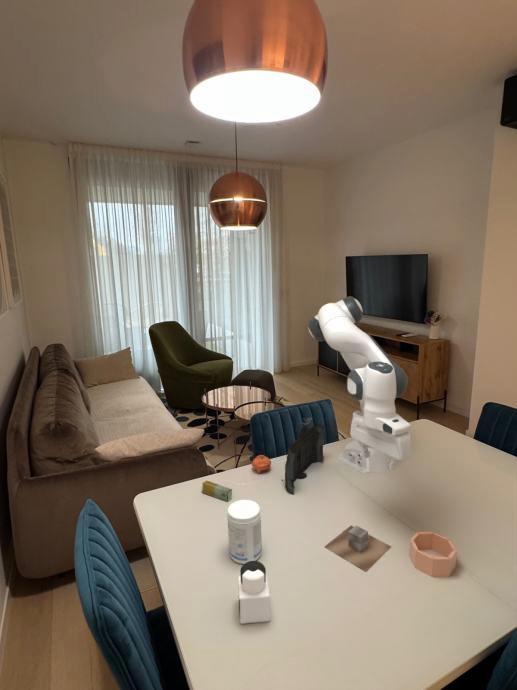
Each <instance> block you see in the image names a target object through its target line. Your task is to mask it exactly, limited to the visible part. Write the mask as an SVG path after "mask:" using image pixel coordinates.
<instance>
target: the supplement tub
mask: <svg viewBox="0 0 517 690" xmlns="http://www.w3.org/2000/svg"><path fill="white" fill-rule="evenodd" d="M226 515H227V533H228V536H227V537H228V552H229V556H230V558H231V560H233V561H234V562H236V563H237V564H243V565H244V564H245V563H247V562H249V561H257V560H258V559H259V558H260V557H261V555H262V551H263V550H262V549H263V543H262V519H261V518H262V515H261V508H260V505H259V504H258V503H257V502H256V501H254V500H250V499H239V500H237V501H233V502H232V503H230V505H229V506H228V507H227V514H226Z"/></svg>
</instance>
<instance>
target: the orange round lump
mask: <svg viewBox="0 0 517 690" xmlns="http://www.w3.org/2000/svg"><path fill="white" fill-rule="evenodd" d="M271 465H272V461H271V459H270V458H269V457H267V456H265V455H263V454H259V455H257V456H256V457H255V458H254V459H253V460H252V462H251V466H252V467H253V468H254V469H255V470H256V471H257V473H258V474H261V471H265V470H267V469H268V471H270V470H271Z"/></svg>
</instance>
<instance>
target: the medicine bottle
mask: <svg viewBox="0 0 517 690" xmlns="http://www.w3.org/2000/svg"><path fill="white" fill-rule="evenodd" d="M237 581H238V582H237V583H238V584H237V585H238V587H237V588H238V613H239V614H238V615H239V624H241V625H242V624H252V623H253V624H255V623H265V622H270V620H271V609H270V608H271V607H270V603H271V601H270V599H271V597H270V591H269V590H270V589H269V582H268V575H267V569H266V566H265V565H264V564H263V563H262V562H260V561H257V560H256V561H249V562H247V563H245V564H243V565H241V568H240V575H238V577H237Z"/></svg>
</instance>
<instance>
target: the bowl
mask: <svg viewBox="0 0 517 690" xmlns="http://www.w3.org/2000/svg"><path fill="white" fill-rule="evenodd" d="M408 550H409V551H408V556H409V558H410V561H411V563H412V565H413V567H414V569H416V570H418V571H420V572H421V573H423V574H426V575H427V576H429V577H431V578H448V577H450V576H451V574H452V573H453V572H454V570H455V569H456V568H457V567H456V566H457V553H458V549H457V548H456V547H455V545H454V544H453V542H452V541H451V540H450V539H449V538H448V537H446V536H443V535H440V534H439V533H436V532H434V531H416V533H415V534H414V535H413V536H412V537H411V538H410V539H409V548H408Z"/></svg>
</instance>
